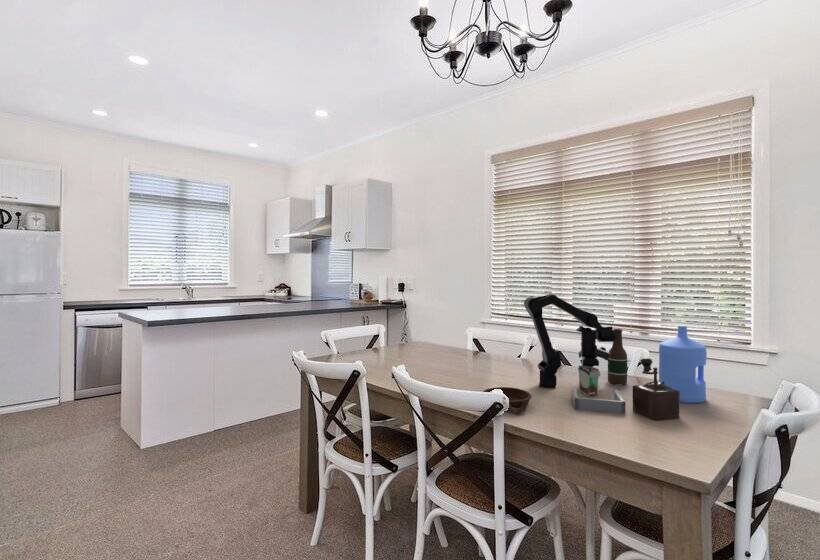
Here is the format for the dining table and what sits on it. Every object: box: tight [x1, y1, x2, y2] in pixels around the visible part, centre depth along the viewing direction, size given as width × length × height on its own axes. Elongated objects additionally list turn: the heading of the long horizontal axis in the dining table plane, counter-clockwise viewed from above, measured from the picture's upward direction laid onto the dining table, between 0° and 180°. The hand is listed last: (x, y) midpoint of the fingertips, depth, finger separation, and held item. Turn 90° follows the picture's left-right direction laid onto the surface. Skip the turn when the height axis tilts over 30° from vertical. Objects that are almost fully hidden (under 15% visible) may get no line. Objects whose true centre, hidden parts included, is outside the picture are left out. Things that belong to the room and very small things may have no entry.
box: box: [571, 386, 626, 414], centre depth 155 cm, size 16×15×4 cm
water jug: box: [658, 325, 708, 404], centre depth 163 cm, size 16×16×28 cm
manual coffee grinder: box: [632, 357, 681, 422], centre depth 147 cm, size 16×11×18 cm
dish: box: [482, 386, 533, 414], centre depth 154 cm, size 18×22×5 cm
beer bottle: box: [607, 328, 628, 386], centre depth 185 cm, size 8×8×24 cm
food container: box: [577, 365, 601, 397], centre depth 170 cm, size 12×6×10 cm, turn 179°
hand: (588, 377), depth 181 cm, fingers closed
